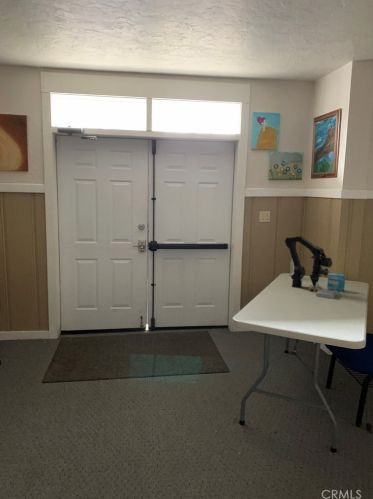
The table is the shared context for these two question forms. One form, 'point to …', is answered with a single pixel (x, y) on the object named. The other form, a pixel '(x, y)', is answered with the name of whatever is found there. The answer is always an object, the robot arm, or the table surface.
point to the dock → (326, 294)
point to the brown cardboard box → (314, 288)
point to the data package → (336, 282)
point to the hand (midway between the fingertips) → (315, 285)
